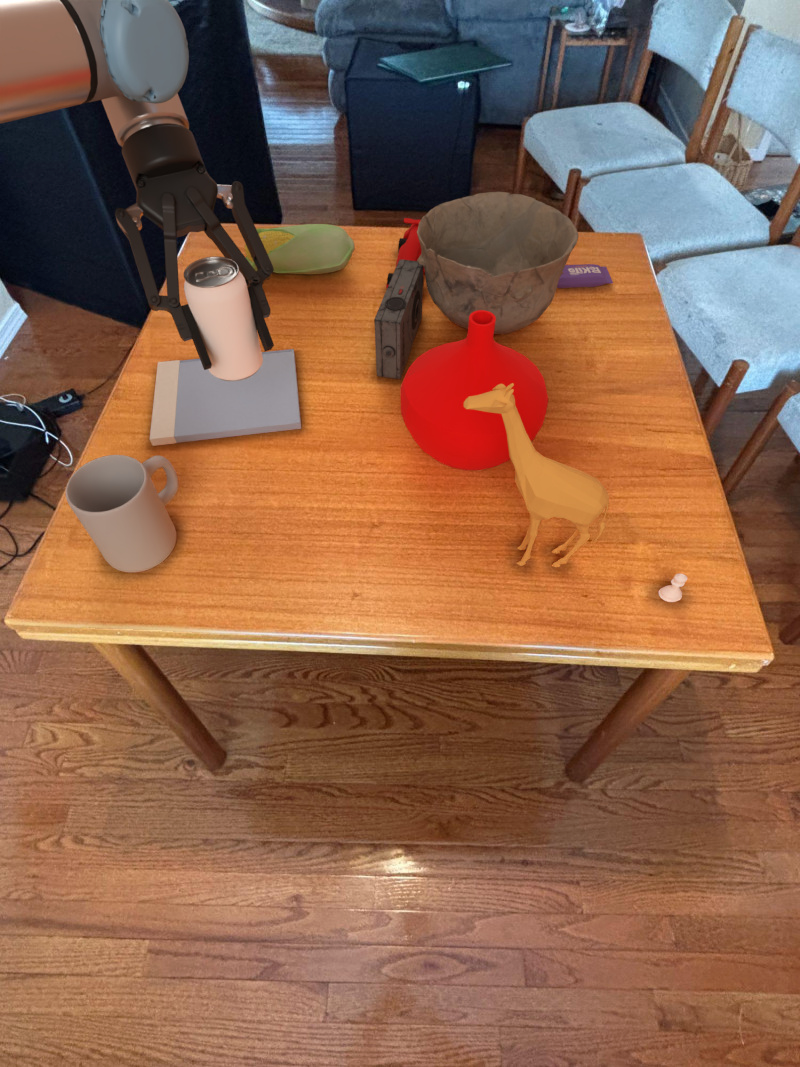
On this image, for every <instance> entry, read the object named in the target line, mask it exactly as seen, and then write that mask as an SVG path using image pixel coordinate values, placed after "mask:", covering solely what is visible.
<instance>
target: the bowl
mask: <svg viewBox="0 0 800 1067" xmlns="http://www.w3.org/2000/svg"><path fill="white" fill-rule="evenodd" d="M420 220H421V221H420V223H419V226H418V230H417V235H418V238H419V242H420V245H421V250H422V251H421V255H420V257H419V258H418V260H417V261H418V263H419V264H421V265H423V267H424V270H425V273H424V277H425V278H424V280H425V284H426V289H427V292H428V295H429V297H430V298H431V300H432V302H433V303H434V304H435V306H436V307H438V309H439V310H440V312H441V313H442V314H443V315H444V316H445V317H446V318H447V319H448V320H449V321H450V322H452V323H453V324H455V325H457V326H458V327H461V328H463V329H465V330H468V324H469V316H470V314H471V313H472V312H474V311H478V310H485V311H489V312H491V313H493V314H494V315H495V317H496V321H495V329H494V335H504V334H511V333H514V332H517V331H519V330H520V331H521V329H524V328H526V327H528V326H530V325H531V324H533V323H535V322H536V321H538V319H539V318H540V317H541V316H542V315H543V314H544V313H545V311H547V309H548V307H549V306H551V304H552V302H553V300H554V298H555V295H556V292H557V289H558V288H557V285H558V281H559V279H560V276H561V274H562V271H563V269H564V267H565V265H567V262H568V260H569V258H570V256H571V253H572V252H573V250H574V249H575V247H576V246H577V244H578V241H579V240H578V239H579V232H578V230H577V227H576V225H575V224H574V223H573V221H572V220H571V219H570V218H569V216H567V215H565V214H564V213H563V212H561V211H560V210H559V209H557V208H554V207H553V206H551V205H548V204H546V203H545V202H543V201H540V200H536V198H535V197H532V196H527V195H525V194H521V193H520V194H519V193H518V194H517V193H510V192H507V191H506V192H505V191H488V192H479V193H476V194H473V195H467V196H463V197H461V198H456V199H453V200H450V201H445V202H442V203H440V204H438V205H436V206H434V207H433V208H431V209H430V210H429V211H428V212H427V213H426V214H425V215H423V216H422V217H421V219H420Z"/></svg>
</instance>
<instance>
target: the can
mask: <svg viewBox="0 0 800 1067" xmlns="http://www.w3.org/2000/svg"><path fill="white" fill-rule="evenodd" d="M183 278H184V284H183V292H184V296H185V299H186V302H187V303H186V304H188V305H189V308H190V310H191V312H192V314H193V317H194V320H195V322H196V325H197V327H198V330H199V332H200V335H201V338H202V340H203V343H204V345H205V348H206V350H207V353H208V356H209V358H210V361H211V363H212V366H211V368H210V369H209V371H210V373H211V374H212V375H214V376H215V377H217V378H219V379H221V380H225V381H239V380H244V379H246V378H249V377H251V376H252V375H254V374H255V373H256V372H257V371H258V370H259V368H260V367H261V365H262V362H263V357H262V352H263V351H262V349H261V342H260V337H259V335H258V332H257V329H256V324H255V320H254V315H253V311H252V306H251V302H250V297H249V293H248V289H247V284H246V281H245V278H244V276H243V275H242V274H241V272H240V271H239V267H238V265H237V263H236V262H235V261H233V260H231V259H229V258H226V257H224V256H218V255H217V256H207V257H202V258H199V259H197V260H194V261H193V262H191V263H190V264H188V265H187V267H186V268H185V269H184V271H183Z"/></svg>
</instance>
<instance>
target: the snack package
mask: <svg viewBox="0 0 800 1067" xmlns="http://www.w3.org/2000/svg"><path fill="white" fill-rule="evenodd" d="M608 284H614V281H613V279H612V277H611V274H610V272H609V270H608V267H607V266H601V265H599V264H593V263H587V264H585V263H584V264H566V265H565V267H564V269H563V271H562V274H561V276H560V279H559V281H558V285H557V289H567V288H568V289H569V288H594V287H601V286H603V285H608Z"/></svg>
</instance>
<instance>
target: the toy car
mask: <svg viewBox="0 0 800 1067" xmlns="http://www.w3.org/2000/svg"><path fill="white" fill-rule="evenodd" d="M420 221H421V219H417V218H416V219H414V218H409V217H404V218H403V223H405V224H410V227H409V228H408V229H407V230H406V231H404V233H403V237H400V238H399V239H398V248H397V253H398V254H397V258H396V264H395V267H396V266H397V264H398V262H399V260H402V259H403V260H411V261H417V260H418V258H419V257H420V255H421V251H422V250H421V245H420V242H419V238H418V235H417V230H418V226H419V223H420ZM393 273H394V272H389V273H388V274H387V279H386V284H385V288H386V289H387V288H388V285H389V283H390V281H391V278H392V276H393ZM423 274H425V270H424V267H423ZM424 277H425V276H423V285H424V282H425V281H424V280H425V278H424Z"/></svg>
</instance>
